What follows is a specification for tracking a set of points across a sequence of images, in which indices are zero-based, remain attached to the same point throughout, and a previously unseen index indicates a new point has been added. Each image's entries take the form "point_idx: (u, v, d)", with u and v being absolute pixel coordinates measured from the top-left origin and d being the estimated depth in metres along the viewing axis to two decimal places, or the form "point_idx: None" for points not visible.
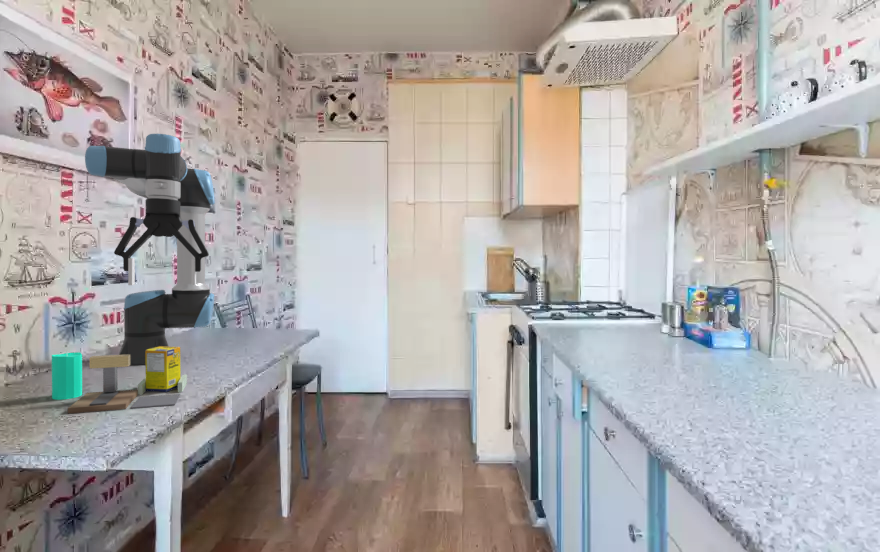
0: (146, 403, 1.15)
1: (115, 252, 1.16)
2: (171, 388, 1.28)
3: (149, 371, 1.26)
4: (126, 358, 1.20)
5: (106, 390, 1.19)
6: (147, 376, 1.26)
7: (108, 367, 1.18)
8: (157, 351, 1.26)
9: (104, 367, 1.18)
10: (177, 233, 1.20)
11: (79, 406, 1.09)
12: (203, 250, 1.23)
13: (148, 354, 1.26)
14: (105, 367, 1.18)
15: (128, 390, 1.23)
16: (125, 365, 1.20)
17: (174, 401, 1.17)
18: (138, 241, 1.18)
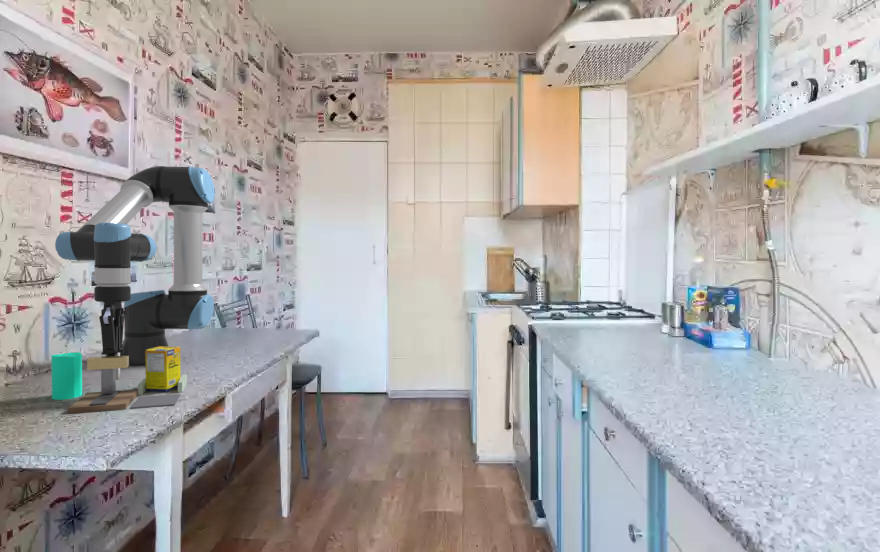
0: (146, 403, 1.15)
1: None
2: (171, 388, 1.28)
3: (149, 371, 1.26)
4: (124, 359, 1.18)
5: (104, 392, 1.17)
6: (147, 376, 1.26)
7: (106, 369, 1.17)
8: (157, 351, 1.26)
9: (102, 368, 1.17)
10: None
11: (79, 406, 1.09)
12: (103, 346, 1.18)
13: (148, 354, 1.26)
14: (103, 368, 1.17)
15: (128, 390, 1.23)
16: (123, 366, 1.18)
17: (174, 401, 1.17)
18: None
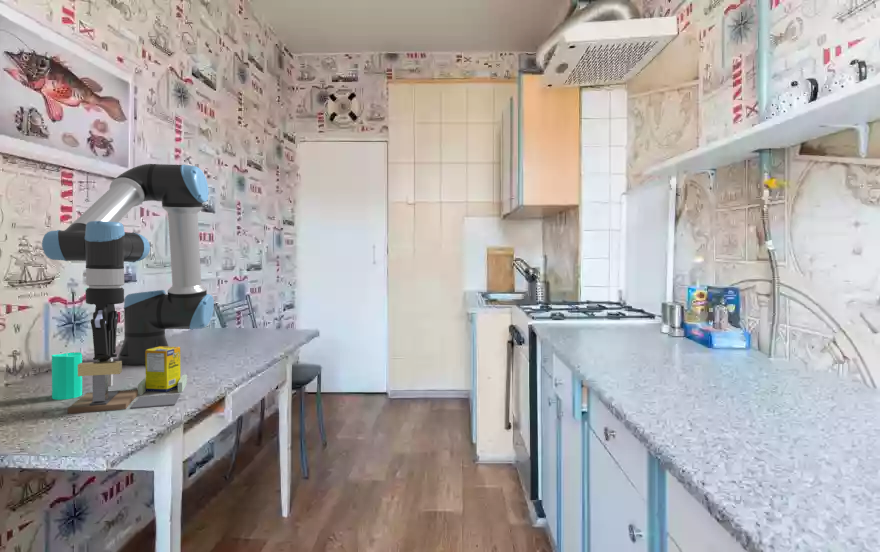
0: (146, 403, 1.15)
1: None
2: (171, 388, 1.28)
3: (149, 371, 1.26)
4: (117, 365, 1.12)
5: (96, 399, 1.11)
6: (147, 376, 1.26)
7: (97, 375, 1.11)
8: (157, 351, 1.26)
9: (93, 375, 1.11)
10: None
11: (79, 406, 1.09)
12: None
13: (148, 354, 1.26)
14: (95, 375, 1.11)
15: (128, 390, 1.23)
16: (116, 372, 1.12)
17: (174, 401, 1.17)
18: None
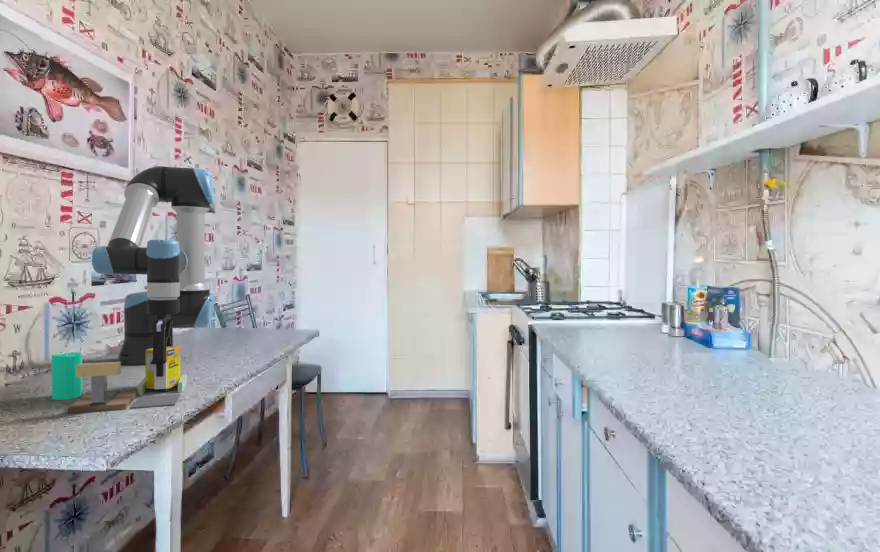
0: (146, 403, 1.15)
1: None
2: (171, 388, 1.28)
3: (149, 371, 1.26)
4: (116, 366, 1.11)
5: (94, 400, 1.10)
6: (147, 376, 1.26)
7: (96, 376, 1.10)
8: None
9: (92, 376, 1.10)
10: None
11: (79, 406, 1.09)
12: (153, 356, 1.22)
13: (148, 354, 1.26)
14: (93, 376, 1.10)
15: (128, 390, 1.23)
16: (115, 373, 1.11)
17: (174, 401, 1.17)
18: None
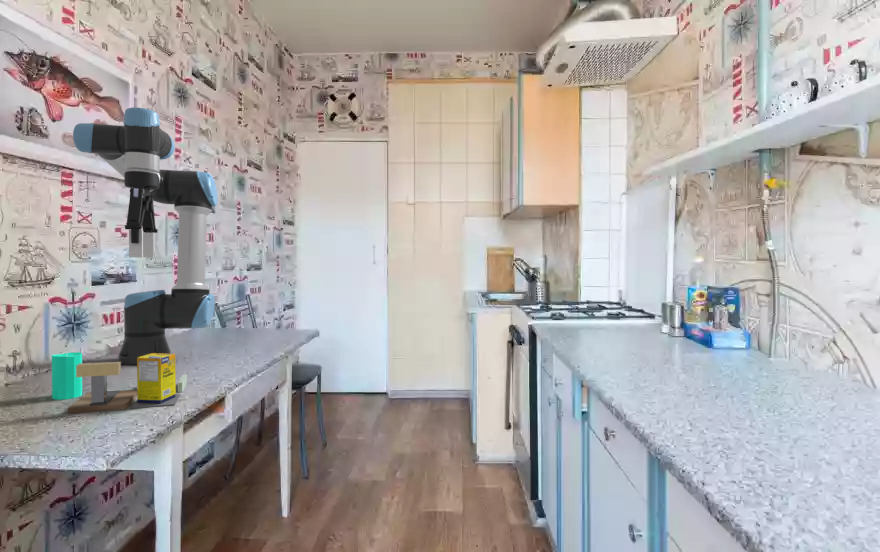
0: (146, 403, 1.15)
1: None
2: (165, 399, 1.17)
3: (141, 380, 1.15)
4: (116, 366, 1.11)
5: (94, 400, 1.10)
6: (139, 386, 1.16)
7: (96, 376, 1.10)
8: (150, 359, 1.15)
9: (92, 376, 1.10)
10: None
11: (79, 406, 1.09)
12: None
13: (140, 362, 1.15)
14: (93, 376, 1.10)
15: (128, 390, 1.23)
16: (115, 373, 1.11)
17: (174, 401, 1.17)
18: None
